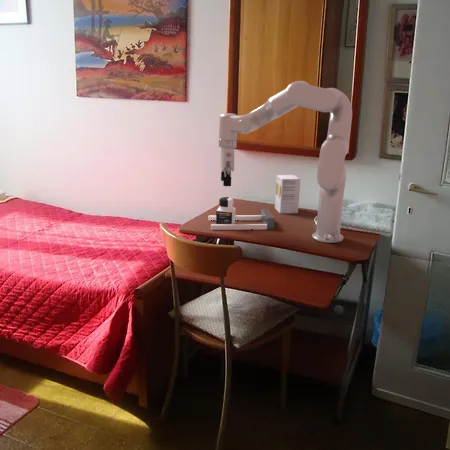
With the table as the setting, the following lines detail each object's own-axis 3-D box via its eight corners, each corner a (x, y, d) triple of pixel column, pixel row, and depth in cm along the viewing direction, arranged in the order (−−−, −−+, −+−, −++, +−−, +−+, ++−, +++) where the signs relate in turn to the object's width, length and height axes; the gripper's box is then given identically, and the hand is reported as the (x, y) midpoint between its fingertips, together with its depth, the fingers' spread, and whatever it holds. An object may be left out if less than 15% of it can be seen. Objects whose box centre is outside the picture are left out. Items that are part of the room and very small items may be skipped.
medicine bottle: (215, 226, 232) (216, 199, 229) (219, 221, 239) (220, 195, 235) (231, 227, 231) (232, 200, 227) (235, 223, 237) (236, 196, 234)
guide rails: (266, 229, 229) (267, 224, 229) (211, 229, 227) (211, 225, 226) (260, 219, 244) (261, 215, 243) (208, 219, 241) (208, 215, 240)
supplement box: (274, 208, 263) (276, 174, 258) (292, 207, 264) (294, 174, 259) (279, 213, 254) (282, 178, 249) (298, 213, 255) (300, 178, 250)
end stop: (273, 229, 230) (274, 218, 228) (266, 229, 229) (267, 218, 228) (267, 219, 244) (267, 208, 242) (260, 219, 244) (261, 208, 242)
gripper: (239, 147, 216) (237, 188, 222) (234, 140, 233) (232, 179, 238) (220, 146, 216) (219, 188, 221) (216, 140, 232) (215, 178, 237)
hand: (225, 183), depth 229 cm, fingers open, 9 cm apart
